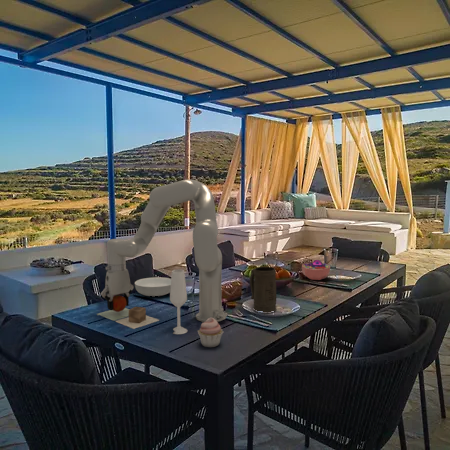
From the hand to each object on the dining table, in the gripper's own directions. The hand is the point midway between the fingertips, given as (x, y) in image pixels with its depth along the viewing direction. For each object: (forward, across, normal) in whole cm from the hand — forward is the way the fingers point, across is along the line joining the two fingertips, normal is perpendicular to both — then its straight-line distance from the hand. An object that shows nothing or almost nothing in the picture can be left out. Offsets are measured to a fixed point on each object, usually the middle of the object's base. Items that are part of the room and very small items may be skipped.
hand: (118, 307), depth 172 cm
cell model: (+4, +115, -34) cm, 120 cm away
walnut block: (+3, 0, -14) cm, 14 cm away
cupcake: (+4, +4, -52) cm, 52 cm away
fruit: (+2, 0, 0) cm, 2 cm away
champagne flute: (+4, +5, -34) cm, 34 cm away
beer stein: (+4, +48, -42) cm, 64 cm away
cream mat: (+4, 0, -14) cm, 14 cm away
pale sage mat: (+4, 0, 0) cm, 4 cm away
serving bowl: (+4, +31, +13) cm, 34 cm away
